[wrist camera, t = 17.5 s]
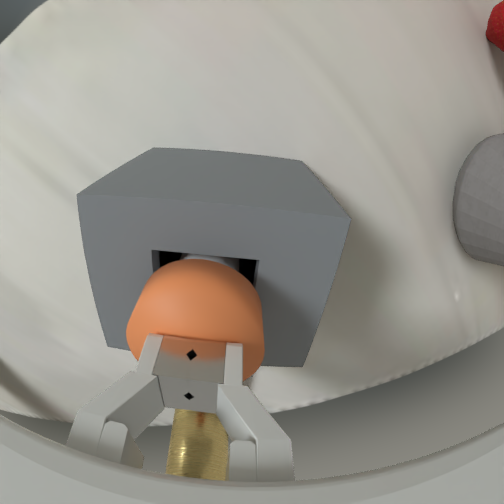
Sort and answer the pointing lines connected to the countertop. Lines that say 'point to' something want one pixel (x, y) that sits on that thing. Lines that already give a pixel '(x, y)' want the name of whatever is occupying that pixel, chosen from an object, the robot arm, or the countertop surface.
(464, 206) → the coffee pot
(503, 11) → the strawberry
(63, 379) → the countertop surface
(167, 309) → the button
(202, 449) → the carriage
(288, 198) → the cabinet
